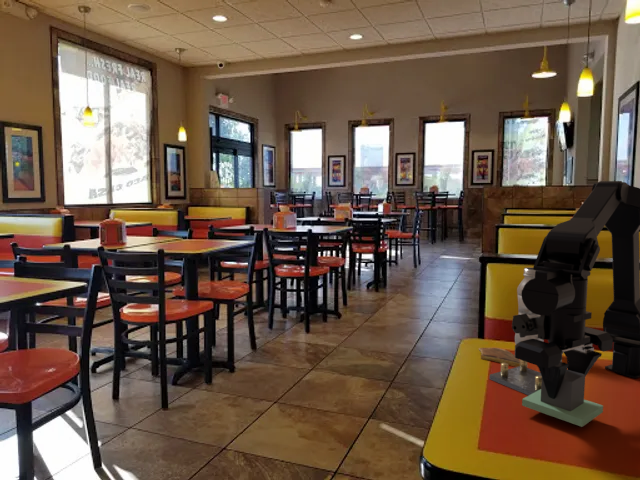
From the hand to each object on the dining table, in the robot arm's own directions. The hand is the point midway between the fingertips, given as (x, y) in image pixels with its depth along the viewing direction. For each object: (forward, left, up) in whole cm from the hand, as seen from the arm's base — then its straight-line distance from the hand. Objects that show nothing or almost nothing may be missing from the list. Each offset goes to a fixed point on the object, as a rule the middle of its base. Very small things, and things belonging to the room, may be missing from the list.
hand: (562, 394), depth 84 cm
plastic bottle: (-26, -26, -4) cm, 37 cm away
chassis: (-8, -12, -4) cm, 15 cm away
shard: (-16, -25, -5) cm, 30 cm away
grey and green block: (0, 0, -3) cm, 3 cm away
